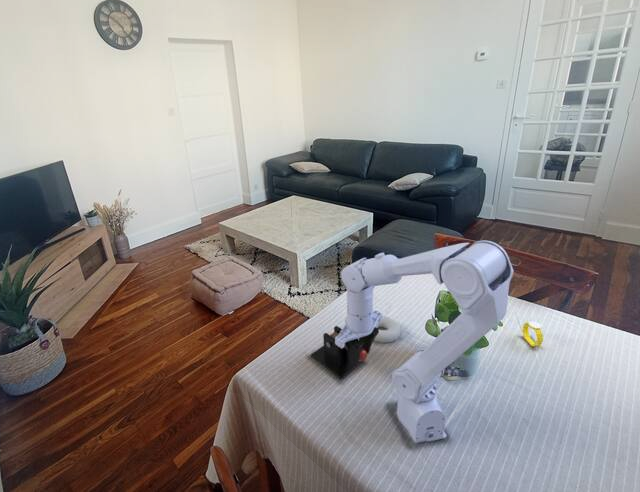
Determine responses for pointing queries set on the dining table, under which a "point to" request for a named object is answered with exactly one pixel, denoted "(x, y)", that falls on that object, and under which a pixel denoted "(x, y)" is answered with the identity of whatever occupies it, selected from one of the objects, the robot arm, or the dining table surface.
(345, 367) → the bracket
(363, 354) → the lever
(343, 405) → the dining table surface
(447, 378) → the blueberries
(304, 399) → the dining table surface
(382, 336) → the donut
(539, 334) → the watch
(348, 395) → the dining table surface
